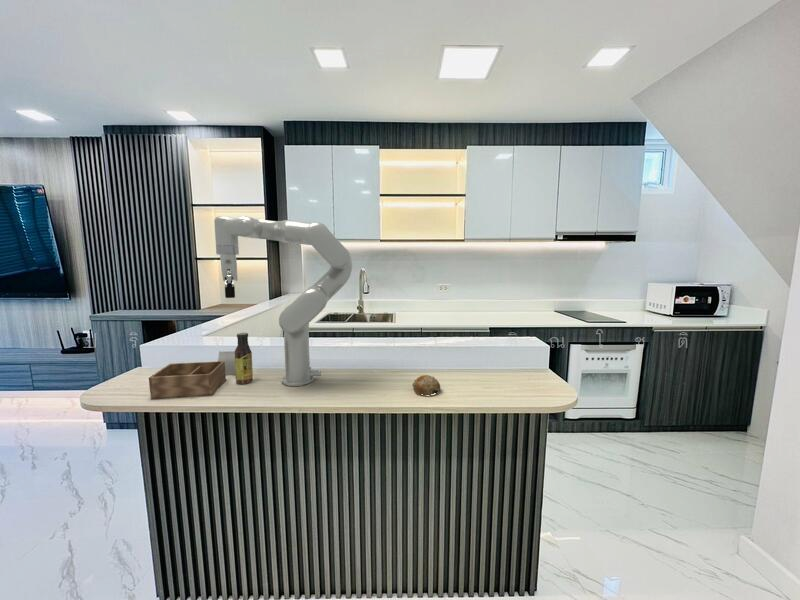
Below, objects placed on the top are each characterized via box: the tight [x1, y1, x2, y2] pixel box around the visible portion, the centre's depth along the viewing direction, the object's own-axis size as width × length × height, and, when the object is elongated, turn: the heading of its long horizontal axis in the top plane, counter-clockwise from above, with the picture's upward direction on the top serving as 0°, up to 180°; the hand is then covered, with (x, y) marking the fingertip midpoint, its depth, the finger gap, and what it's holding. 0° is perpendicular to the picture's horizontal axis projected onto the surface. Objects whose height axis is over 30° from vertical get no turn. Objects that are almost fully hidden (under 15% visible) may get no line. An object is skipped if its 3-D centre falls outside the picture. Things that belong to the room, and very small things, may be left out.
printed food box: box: [217, 350, 236, 376], centre depth 142 cm, size 4×7×10 cm, turn 94°
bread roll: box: [411, 374, 441, 395], centre depth 126 cm, size 10×10×8 cm
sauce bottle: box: [234, 332, 254, 385], centre depth 133 cm, size 7×6×20 cm
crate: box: [148, 360, 227, 400], centre depth 126 cm, size 20×15×8 cm
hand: (230, 296), depth 127 cm, fingers open, 9 cm apart
